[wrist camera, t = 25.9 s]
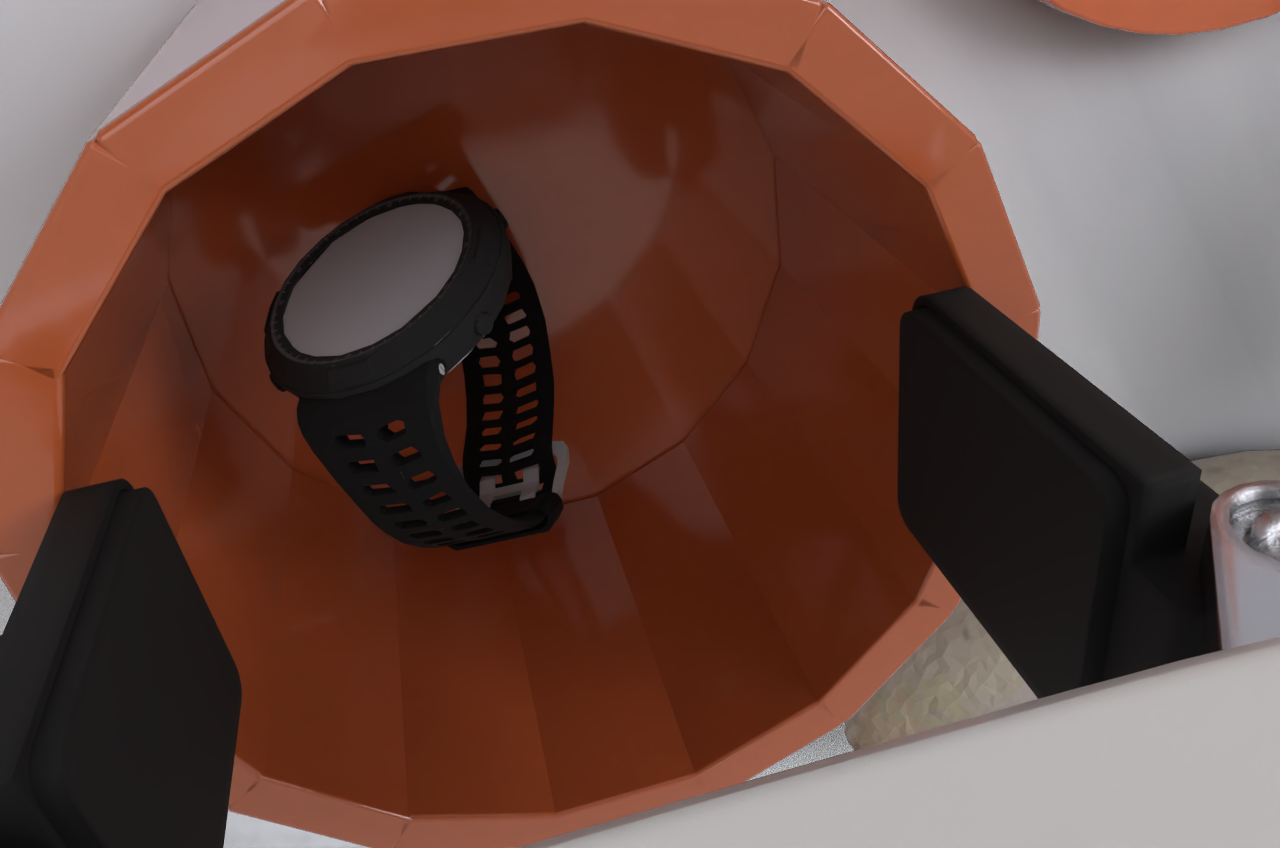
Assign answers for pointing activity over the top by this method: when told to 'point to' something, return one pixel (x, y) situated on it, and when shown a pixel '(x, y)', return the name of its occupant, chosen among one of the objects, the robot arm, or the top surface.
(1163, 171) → the top surface
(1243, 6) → the lid
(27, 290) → the pot
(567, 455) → the smartwatch
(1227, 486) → the decorative stone
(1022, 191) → the top surface
